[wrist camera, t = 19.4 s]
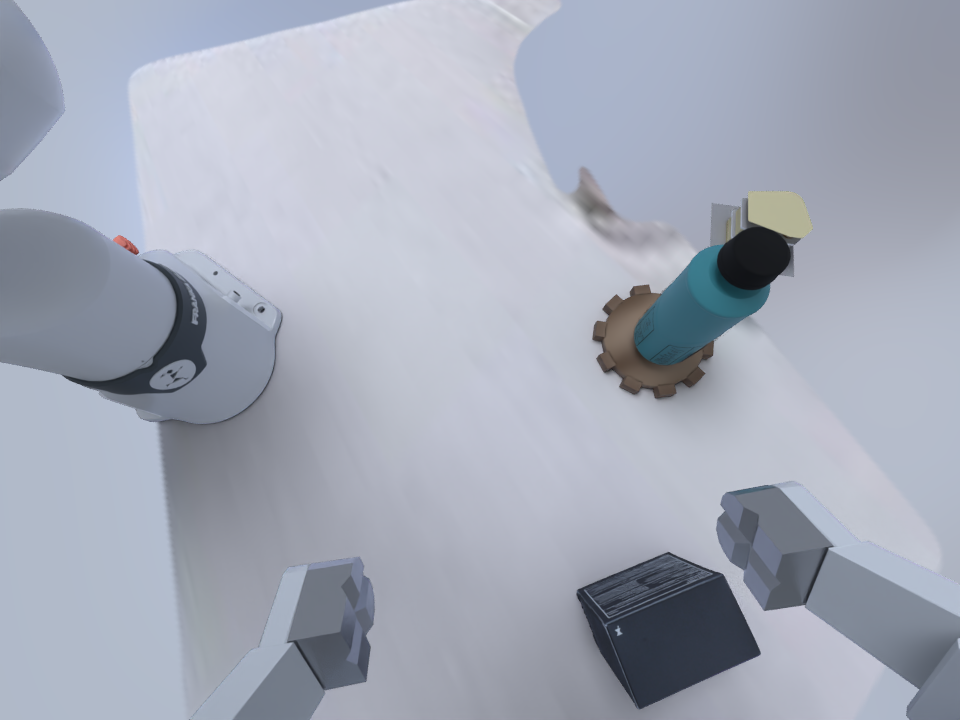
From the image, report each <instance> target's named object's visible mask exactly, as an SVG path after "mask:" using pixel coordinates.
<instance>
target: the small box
mask: <svg viewBox="0 0 960 720" xmlns="http://www.w3.org/2000/svg"><path fill="white" fill-rule="evenodd" d="M577 596H578V599H579V601H580V602H581V604H582V608H583V609H584V613H585V614H586V618H587V619H588V622H589V625H590V628H591V630H592V632H593V637H594V639H595V641H596V644H597V646H598V647H599V650H600V652H601V654H602V655H603V657H604V658H605V660H606V661H607V663H608V664H609V666H610V667H611V669H612V670H613V672H614V673H615V675H616V676H617V678H618V679H619V681H620V682H621V684H622V686H623V687H624V688H625V690H626V692H627V693H628V694H629V696H630V697H631V699H632V700H633V702H634V703H635V706H636V707H637V708H638V709H642V708H644V707H646V706H648V705H651V704H653V703H655V702H657V701H660V700H662V699H664V698H666V697H668V696H670V695H673V694H675V693H677V692H679V691H681V690H683V689H686V688H688V687H690V686H692V685H694V684H697V683H699V682H701V681H703V680H705V679H708V678H710V677H712V676H715V675H717V674H719V673H721V672H723V671H726V670H728V669H730V668H732V667H735V666H737V665H739V664H741V663H744V662H746V661H748V660H750V659H753V658H755V657H757V656H759V655H760V654H761V653H760V650H759V648H758V645H757V643H756V641H755V639H754V636H753V634H752V632H751V630H750V628H749V626H748V624H747V622H746V620H745V617H744V615H743V613H742V611H741V609H740V607H739V605H738V603H737V601H736V599H735V597H734V595H733V593H732V591H731V589H730V587H729V585H728V583H727V580H726V579H725V577H724V575H723V574H721V573H719V572H714V571H712V570H709V569H706V568H703V567H702V566H699V565H697V564H694V563H692V562H690V561H687V560H685V559H683V558H680V557H678V556H676V555H673V554H671V553H670V552H667V553H665V554H663V555H660V556H658V557H655V558H653V559H650V560H648V561H646V562H643V563H641V564H638V565H636V566H633V567H631V568H629V569H626V570H624V571H621V572H619V573H617V574H614V575H611V576H609V577H607V578H604V579H602V580H600V581H597V582H595V583H593V584H590V585H588V586H586V587H583V588H581V589H578V590H577Z"/></svg>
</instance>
